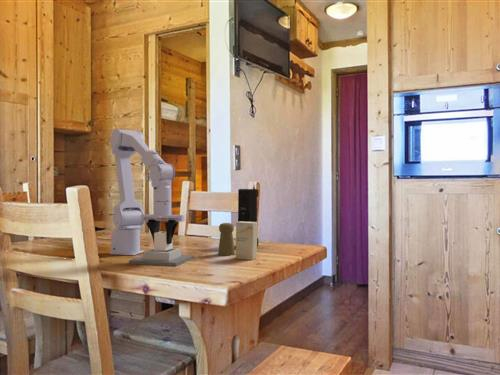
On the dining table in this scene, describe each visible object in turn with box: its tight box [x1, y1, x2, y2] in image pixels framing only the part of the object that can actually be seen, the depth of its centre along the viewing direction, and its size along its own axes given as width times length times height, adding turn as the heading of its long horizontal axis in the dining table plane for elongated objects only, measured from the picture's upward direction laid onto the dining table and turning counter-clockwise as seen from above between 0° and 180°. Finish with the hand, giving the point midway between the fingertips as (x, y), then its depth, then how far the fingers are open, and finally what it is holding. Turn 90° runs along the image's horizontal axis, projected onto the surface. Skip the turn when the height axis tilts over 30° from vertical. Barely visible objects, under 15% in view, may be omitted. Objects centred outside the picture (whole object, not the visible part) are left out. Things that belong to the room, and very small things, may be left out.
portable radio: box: [237, 186, 259, 248], centre depth 168 cm, size 8×6×25 cm
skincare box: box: [235, 221, 258, 261], centre depth 142 cm, size 6×4×12 cm
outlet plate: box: [128, 247, 195, 267], centre depth 138 cm, size 16×14×4 cm
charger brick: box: [153, 230, 174, 251], centre depth 139 cm, size 4×5×6 cm
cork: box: [217, 222, 236, 257], centre depth 151 cm, size 6×6×11 cm
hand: (162, 243), depth 138 cm, fingers closed on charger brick, 4 cm apart
